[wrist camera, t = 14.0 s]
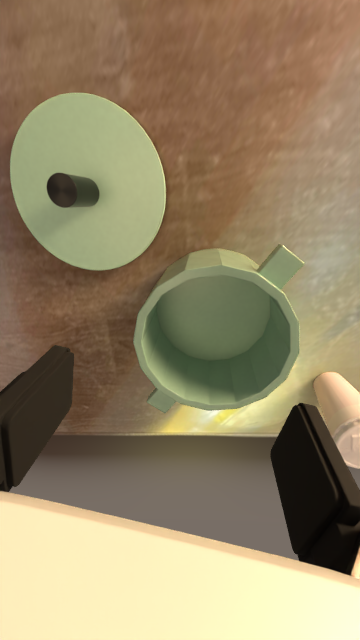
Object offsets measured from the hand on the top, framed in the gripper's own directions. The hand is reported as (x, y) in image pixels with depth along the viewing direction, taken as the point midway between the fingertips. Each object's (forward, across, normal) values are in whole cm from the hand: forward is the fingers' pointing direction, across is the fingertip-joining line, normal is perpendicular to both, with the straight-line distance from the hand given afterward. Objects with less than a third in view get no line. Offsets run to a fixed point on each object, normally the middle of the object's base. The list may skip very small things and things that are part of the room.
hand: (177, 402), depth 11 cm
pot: (+21, -3, +4) cm, 21 cm away
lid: (+20, +13, -6) cm, 24 cm away
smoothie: (+21, -20, +10) cm, 30 cm away
